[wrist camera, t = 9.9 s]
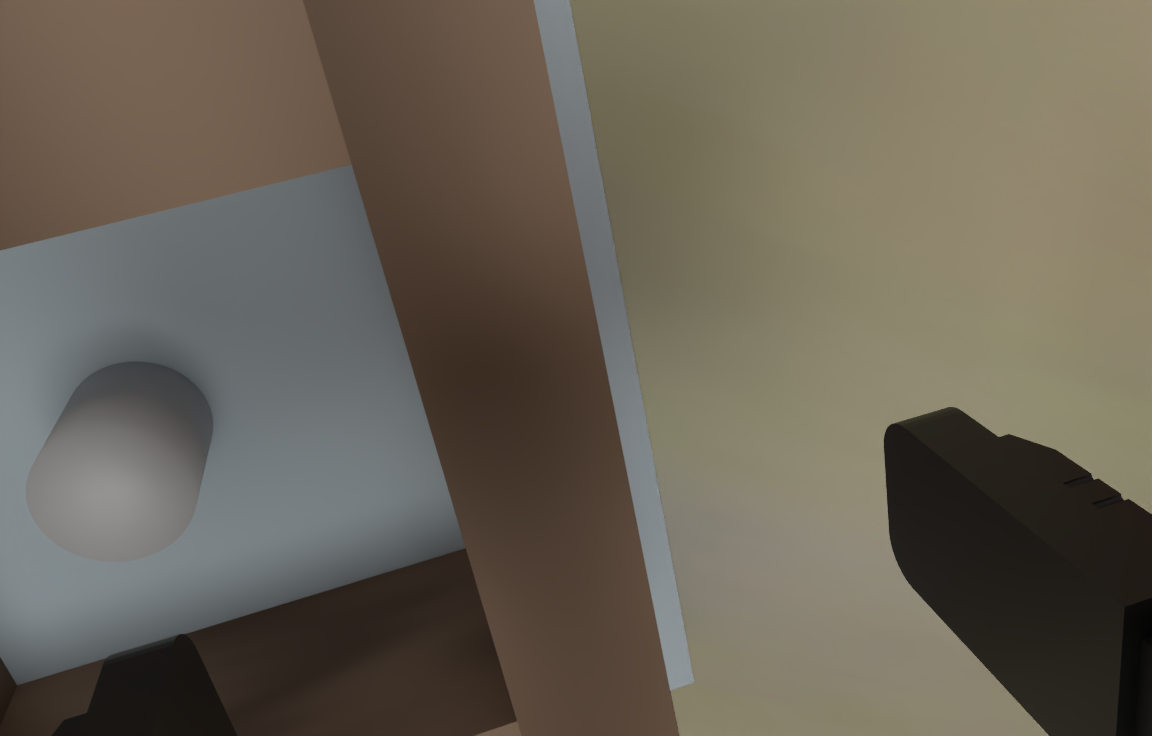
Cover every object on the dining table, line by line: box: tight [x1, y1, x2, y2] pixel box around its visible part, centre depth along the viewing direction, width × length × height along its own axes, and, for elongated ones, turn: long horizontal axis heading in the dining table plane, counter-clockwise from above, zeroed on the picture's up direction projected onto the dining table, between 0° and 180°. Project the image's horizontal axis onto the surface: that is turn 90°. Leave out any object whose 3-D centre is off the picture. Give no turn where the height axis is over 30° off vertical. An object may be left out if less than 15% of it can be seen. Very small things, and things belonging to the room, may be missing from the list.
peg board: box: [0, 0, 694, 690], centre depth 16 cm, size 18×20×4 cm
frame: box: [0, 0, 679, 736], centre depth 15 cm, size 14×14×5 cm
